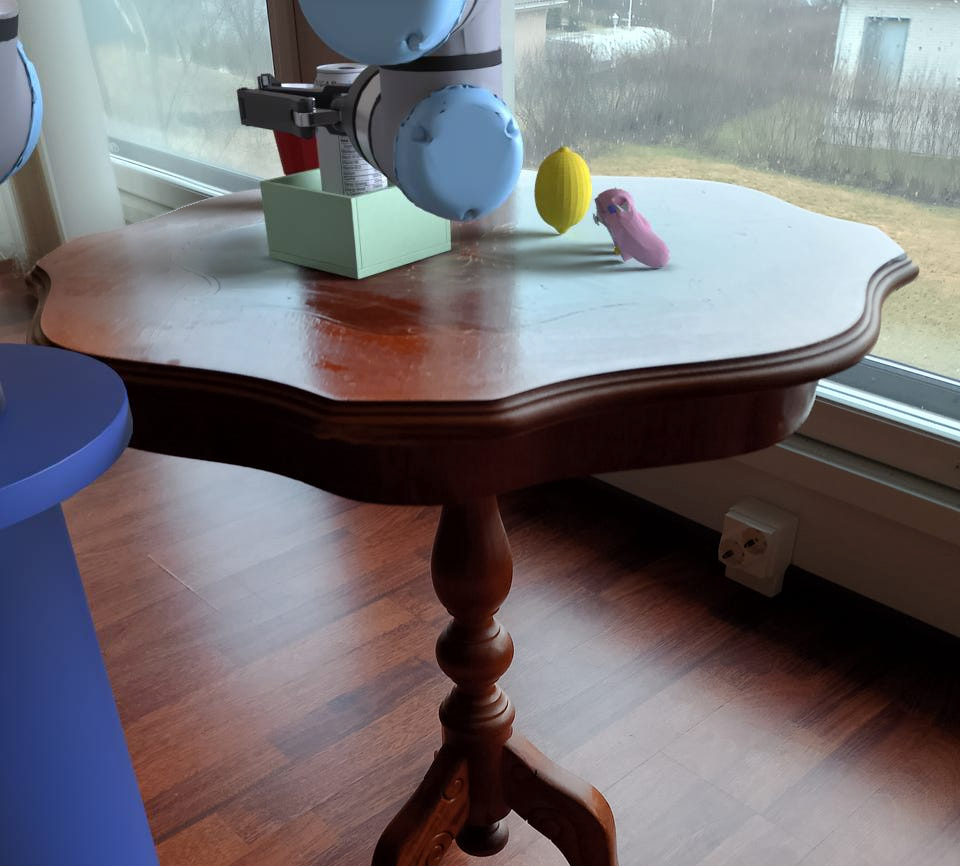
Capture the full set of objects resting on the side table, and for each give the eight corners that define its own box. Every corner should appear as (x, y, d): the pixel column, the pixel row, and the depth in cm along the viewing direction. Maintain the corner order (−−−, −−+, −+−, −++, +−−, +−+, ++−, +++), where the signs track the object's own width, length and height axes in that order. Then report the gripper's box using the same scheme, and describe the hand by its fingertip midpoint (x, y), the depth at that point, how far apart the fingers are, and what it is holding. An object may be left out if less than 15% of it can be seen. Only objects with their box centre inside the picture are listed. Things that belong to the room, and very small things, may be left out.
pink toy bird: (610, 259, 103) (580, 192, 100) (654, 235, 102) (624, 166, 99) (628, 289, 95) (595, 217, 92) (675, 263, 94) (644, 189, 91)
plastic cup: (388, 205, 118) (379, 83, 112) (300, 220, 113) (285, 94, 107) (341, 189, 126) (330, 74, 119) (256, 202, 121) (240, 84, 114)
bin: (358, 279, 95) (350, 198, 91) (269, 257, 101) (259, 181, 97) (451, 250, 102) (448, 173, 98) (363, 231, 109) (357, 159, 105)
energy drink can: (373, 233, 105) (359, 60, 96) (403, 246, 100) (391, 66, 92) (317, 243, 102) (297, 66, 93) (345, 257, 98) (328, 73, 89)
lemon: (601, 232, 106) (604, 144, 102) (567, 244, 103) (569, 154, 98) (557, 224, 109) (558, 139, 105) (522, 235, 106) (522, 148, 101)
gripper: (235, 195, 74) (206, 145, 91) (571, 165, 80) (485, 123, 97) (218, 74, 70) (191, 44, 87) (573, 51, 76) (483, 28, 93)
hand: (346, 86), depth 92 cm, fingers open, 13 cm apart
